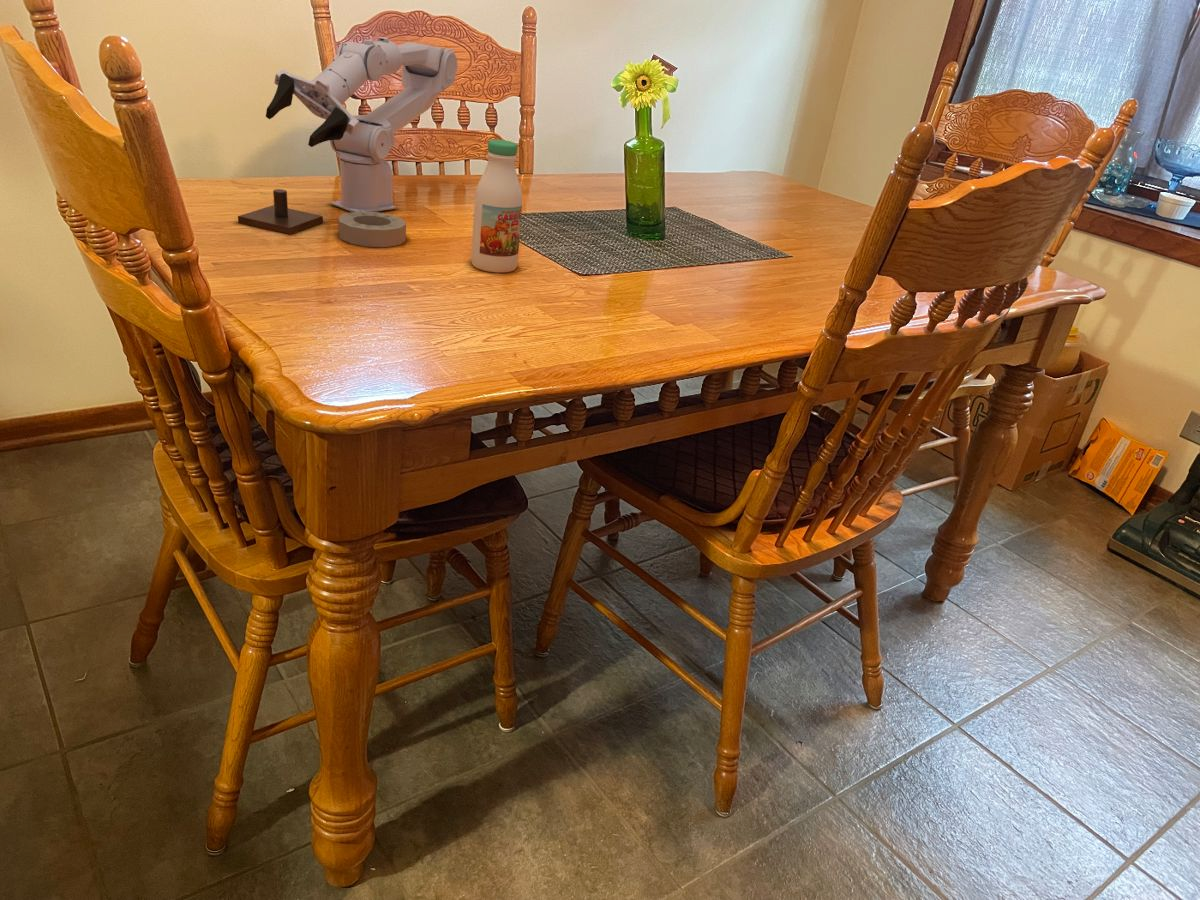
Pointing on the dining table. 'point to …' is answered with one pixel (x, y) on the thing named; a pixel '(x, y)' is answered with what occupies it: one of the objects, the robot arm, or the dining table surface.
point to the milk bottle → (497, 211)
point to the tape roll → (372, 229)
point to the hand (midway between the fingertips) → (289, 127)
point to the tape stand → (280, 216)
